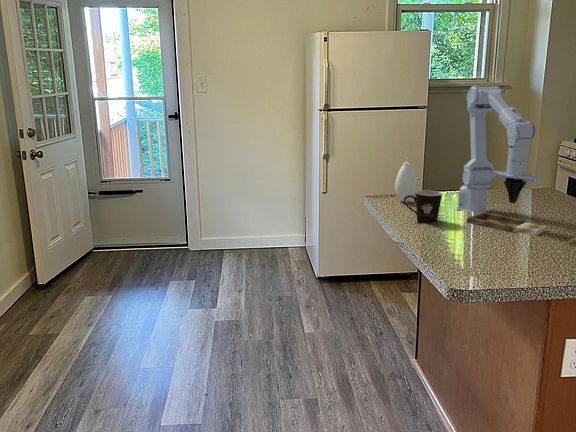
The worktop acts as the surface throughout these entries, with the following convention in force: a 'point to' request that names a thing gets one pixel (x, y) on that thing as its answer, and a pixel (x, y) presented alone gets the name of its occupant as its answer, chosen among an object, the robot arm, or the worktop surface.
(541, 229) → the beige rectangular block
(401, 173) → the sauce bottle
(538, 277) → the worktop surface
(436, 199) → the coffee mug
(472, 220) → the walnut box
